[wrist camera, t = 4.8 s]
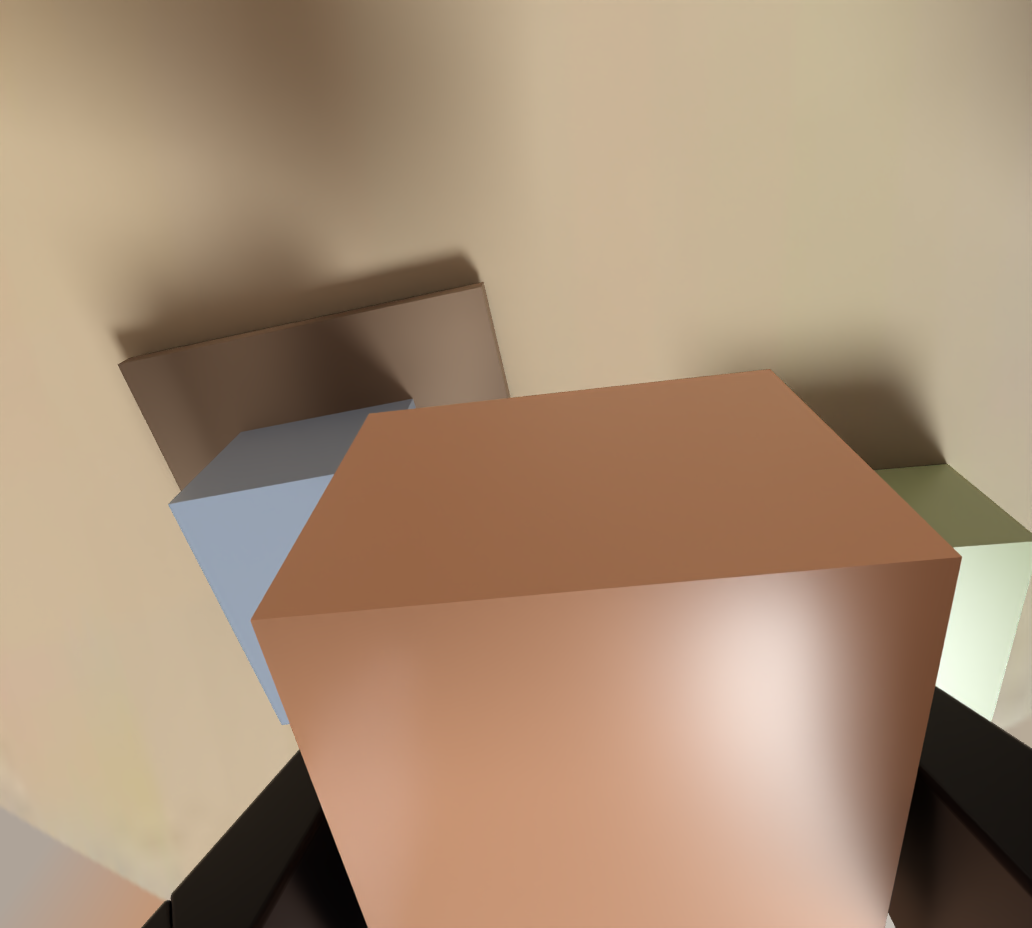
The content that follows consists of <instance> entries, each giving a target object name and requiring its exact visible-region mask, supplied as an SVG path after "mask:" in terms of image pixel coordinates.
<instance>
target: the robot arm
mask: <svg viewBox="0 0 1032 928" xmlns="http://www.w3.org/2000/svg"><path fill="white" fill-rule="evenodd" d="M888 913H889V915H890V917H891V919H892V921H893V923H894V925H895V928H1032V748H1030V747H1029V746H1027V745H1026V744H1024V743H1023V742H1021V741H1019V740H1018V739H1017V738H1015V737H1014V736H1012V735H1011V734H1009V733H1007V732H1006V731H1004V730H1003V729H1001V728H1000V727H998V726H997V725H995V724H994V723H992V722H991V721H989V720H988V719H986V718H984V717H983V716H981V715H980V714H978V713H977V712H975V711H974V710H972V709H971V708H969V707H968V706H966V705H965V704H963V703H961V702H960V701H958V700H957V699H955V698H954V697H952V696H951V695H949V694H948V693H946V692H945V691H943V690H942V689H940V688H938V687H937V686H935V690H934V694H933V699H932V704H931V709H930V714H929V718H928V723H927V728H926V733H925V738H924V742H923V747H922V752H921V757H920V761H919V766H918V771H917V776H916V781H915V785H914V790H913V795H912V800H911V805H910V809H909V814H908V819H907V824H906V828H905V833H904V838H903V843H902V848H901V852H900V857H899V862H898V867H897V872H896V876H895V881H894V886H893V891H892V895H891V900H890V905H889V910H888ZM142 928H368V926H367V924H366V921H365V919H364V916H363V913H362V911H361V908H360V906H359V903H358V900H357V898H356V895H355V892H354V890H353V887H352V885H351V882H350V879H349V877H348V874H347V872H346V869H345V866H344V864H343V861H342V859H341V856H340V853H339V851H338V848H337V846H336V843H335V840H334V838H333V835H332V832H331V830H330V827H329V825H328V822H327V819H326V817H325V814H324V812H323V809H322V806H321V804H320V801H319V799H318V796H317V793H316V791H315V788H314V786H313V783H312V780H311V778H310V775H309V773H308V770H307V767H306V765H305V762H304V759H303V757H302V754H301V752H300V749H299V750H298V751H297V753H296V754H295V755H294V756H293V757H292V758H291V759H290V760H289V762H288V763H287V764H286V765H285V766H284V767H283V768H282V769H281V771H280V772H279V773H278V774H277V775H276V776H275V777H274V779H273V780H272V781H271V782H270V783H269V784H268V785H267V786H266V788H265V789H264V790H263V791H262V792H261V793H260V794H259V796H258V797H257V798H256V799H255V800H254V801H253V802H252V803H251V805H250V806H249V807H248V808H247V809H246V810H245V811H244V812H243V814H242V815H241V816H240V817H239V818H238V819H237V820H236V822H235V823H234V824H233V825H232V826H231V827H230V828H229V829H228V831H227V832H226V833H225V834H224V835H223V836H222V837H221V838H220V840H219V841H218V842H217V843H216V844H215V845H214V846H213V848H212V849H211V850H210V851H209V852H208V853H207V854H206V855H205V857H204V858H203V859H202V860H201V861H200V862H199V863H198V864H197V866H196V867H195V868H194V869H193V870H192V871H191V872H190V874H189V875H188V876H187V877H186V878H185V879H184V880H183V881H182V883H181V884H180V885H179V886H178V887H177V888H176V889H175V891H174V892H173V893H172V895H171V901H170V900H167V901H165V902H164V903H163V904H162V905H161V906H160V907H159V908H158V909H157V911H156V912H155V913H154V914H153V915H152V916H151V917H150V919H149V920H148V921H147V922H146V923H145V924H144V925H143V927H142Z"/></svg>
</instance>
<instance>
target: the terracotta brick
mask: <svg viewBox="0 0 1032 928" xmlns="http://www.w3.org/2000/svg"><path fill="white" fill-rule="evenodd" d="M961 560H962V556H961V555H960V554H959V553H958V552H957V551H956V550H955V549H954V548H953V547H952V546H951V545H950V544H949V543H948V542H947V541H945V540H944V539H943V538H942V537H941V536H940V535H939V534H938V533H937V532H936V531H935V530H934V529H933V528H932V527H931V526H930V525H929V524H928V523H927V522H926V521H925V520H924V519H923V518H922V517H921V516H920V515H919V514H918V513H917V512H916V511H915V510H914V509H913V508H912V507H911V506H910V505H909V504H908V503H907V502H906V501H905V500H904V499H902V498H901V497H900V496H899V495H898V494H897V493H896V492H895V491H894V490H893V489H892V488H891V487H890V486H889V485H888V484H887V483H886V482H885V481H884V480H883V479H882V478H881V477H880V476H879V475H878V474H877V473H876V472H875V471H874V470H873V469H872V468H871V467H870V466H869V465H868V464H867V463H866V462H865V461H864V460H863V459H862V458H861V457H860V456H858V455H857V454H856V453H855V452H854V451H853V450H852V449H851V448H850V447H849V446H848V445H847V444H846V443H845V442H844V441H843V440H842V439H841V438H840V437H839V436H838V435H837V434H836V433H835V432H834V431H833V430H832V429H831V428H830V427H829V426H828V425H827V424H826V423H825V422H824V421H823V420H822V419H821V418H820V417H819V416H818V415H817V414H816V413H814V412H813V411H812V410H811V409H810V408H809V407H808V406H807V405H806V404H805V403H804V402H803V401H802V400H801V399H800V398H799V397H798V396H797V395H796V394H795V393H794V392H793V391H792V390H791V389H790V388H789V387H788V386H787V385H786V384H785V383H784V382H783V381H782V380H781V379H780V378H779V377H778V376H777V375H776V374H775V373H774V372H773V371H772V370H770V369H766V370H757V371H748V372H739V373H730V374H721V375H712V376H703V377H694V378H685V379H676V380H667V381H658V382H649V383H640V384H631V385H622V386H613V387H604V388H595V389H586V390H577V391H568V392H559V393H550V394H541V395H532V396H523V397H514V398H505V399H496V400H487V401H478V402H469V403H460V404H451V405H442V406H433V407H424V408H415V409H406V410H397V411H388V412H379V413H370V414H369V415H368V416H367V418H366V420H365V422H364V423H363V425H362V427H361V429H360V430H359V432H358V434H357V436H356V437H355V439H354V441H353V443H352V444H351V446H350V448H349V449H348V451H347V453H346V455H345V456H344V458H343V460H342V462H341V463H340V465H339V467H338V469H337V470H336V472H335V474H334V476H333V477H332V479H331V481H330V482H329V484H328V486H327V488H326V489H325V491H324V493H323V495H322V496H321V498H320V500H319V502H318V503H317V505H316V507H315V509H314V510H313V512H312V514H311V515H310V517H309V519H308V521H307V522H306V524H305V526H304V528H303V529H302V531H301V533H300V535H299V536H298V538H297V540H296V542H295V543H294V545H293V547H292V548H291V550H290V552H289V554H288V555H287V557H286V559H285V561H284V562H283V564H282V566H281V568H280V569H279V571H278V573H277V575H276V576H275V578H274V580H273V581H272V583H271V585H270V587H269V588H268V590H267V592H266V594H265V595H264V597H263V599H262V601H261V602H260V604H259V606H258V608H257V609H256V611H255V613H254V614H253V616H252V618H251V620H250V621H251V624H252V626H253V629H254V632H255V634H256V637H257V640H258V642H259V645H260V647H261V650H262V653H263V655H264V658H265V660H266V663H267V666H268V668H269V671H270V673H271V676H272V679H273V681H274V684H275V686H276V689H277V692H278V694H279V697H280V700H281V702H282V705H283V707H284V710H285V713H286V715H287V718H288V720H289V723H290V726H291V728H292V731H293V733H294V736H295V739H296V741H297V744H298V746H299V749H300V752H301V754H302V757H303V759H304V762H305V765H306V767H307V770H308V773H309V775H310V778H311V780H312V783H313V786H314V788H315V791H316V793H317V796H318V799H319V801H320V804H321V806H322V809H323V812H324V814H325V817H326V819H327V822H328V825H329V827H330V830H331V832H332V835H333V838H334V840H335V843H336V846H337V848H338V851H339V853H340V856H341V859H342V861H343V864H344V866H345V869H346V872H347V874H348V877H349V879H350V882H351V885H352V887H353V890H354V892H355V895H356V898H357V900H358V903H359V906H360V908H361V911H362V913H363V916H364V919H365V921H366V924H367V926H368V928H885V924H886V919H887V914H888V910H889V905H890V900H891V895H892V891H893V886H894V881H895V876H896V872H897V867H898V862H899V857H900V852H901V848H902V843H903V838H904V833H905V828H906V824H907V819H908V814H909V809H910V805H911V800H912V795H913V790H914V785H915V781H916V776H917V771H918V766H919V761H920V757H921V752H922V747H923V742H924V738H925V733H926V728H927V723H928V718H929V714H930V709H931V704H932V699H933V694H934V690H935V685H936V680H937V675H938V671H939V666H940V661H941V656H942V651H943V647H944V642H945V637H946V632H947V627H948V623H949V618H950V613H951V608H952V604H953V599H954V594H955V589H956V584H957V580H958V575H959V570H960V565H961Z"/></svg>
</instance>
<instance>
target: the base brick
mask: <svg viewBox="0 0 1032 928" xmlns="http://www.w3.org/2000/svg"><path fill="white" fill-rule="evenodd" d="M415 408H416V407H415V404H414V400H413V399H408V400H403V401H398V402H393V403H388V404H383V405H377V406H372V407H367V408H362V409H357V410H352V411H347V412H341V413H336V414H331V415H326V416H321V417H316V418H310V419H305V420H300V421H295V422H290V423H285V424H280V425H274V426H269V427H264V428H259V429H254V430H249V431H243V432H240V433H239V434H238V435H237V436H236V437H235V438H234V439H233V440H232V441H231V442H230V443H229V444H228V445H227V446H226V447H225V448H224V449H223V450H222V451H221V452H220V453H219V454H218V455H217V456H216V457H215V458H214V459H213V460H212V461H211V462H210V463H209V464H208V465H207V466H206V467H205V468H204V469H203V470H202V471H201V472H200V473H199V474H198V475H197V476H196V477H195V478H194V479H193V480H192V481H191V482H190V483H189V484H188V485H187V486H186V487H185V488H184V489H183V490H182V491H181V492H180V493H179V494H178V495H177V496H176V497H175V498H174V499H173V500H172V501H171V502H170V503H169V504H168V505H169V507H170V509H171V511H172V513H173V515H174V517H175V519H176V520H177V522H178V524H179V526H180V528H181V530H182V532H183V534H184V536H185V538H186V540H187V542H188V544H189V546H190V548H191V550H192V552H193V553H194V555H195V557H196V559H197V561H198V563H199V565H200V567H201V569H202V571H203V573H204V575H205V577H206V579H207V581H208V583H209V585H210V586H211V588H212V590H213V592H214V594H215V596H216V598H217V600H218V602H219V604H220V606H221V608H222V610H223V612H224V614H225V616H226V618H227V619H228V621H229V623H230V625H231V627H232V629H233V631H234V633H235V635H236V637H237V639H238V641H239V643H240V645H241V647H242V649H243V651H244V652H245V654H246V656H247V658H248V660H249V662H250V664H251V666H252V668H253V670H254V672H255V674H256V676H257V678H258V680H259V682H260V684H261V685H262V687H263V689H264V691H265V693H266V695H267V697H268V699H269V701H270V703H271V705H272V707H273V709H274V711H275V713H276V715H277V717H278V718H279V720H280V722H281V724H282V725H285V724H290V723H289V720H288V718H287V715H286V713H285V710H284V707H283V705H282V702H281V700H280V697H279V694H278V692H277V689H276V686H275V684H274V681H273V679H272V676H271V673H270V671H269V668H268V666H267V663H266V660H265V658H264V655H263V653H262V650H261V647H260V645H259V642H258V640H257V637H256V634H255V632H254V629H253V626H252V624H251V621H250V620H251V618H252V616H253V614H254V613H255V611H256V609H257V608H258V606H259V604H260V602H261V601H262V599H263V597H264V595H265V594H266V592H267V590H268V588H269V587H270V585H271V583H272V581H273V580H274V578H275V576H276V575H277V573H278V571H279V569H280V568H281V566H282V564H283V562H284V561H285V559H286V557H287V555H288V554H289V552H290V550H291V548H292V547H293V545H294V543H295V542H296V540H297V538H298V536H299V535H300V533H301V531H302V529H303V528H304V526H305V524H306V522H307V521H308V519H309V517H310V515H311V514H312V512H313V510H314V509H315V507H316V505H317V503H318V502H319V500H320V498H321V496H322V495H323V493H324V491H325V489H326V488H327V486H328V484H329V482H330V481H331V479H332V477H333V476H334V474H335V472H336V470H337V469H338V467H339V465H340V463H341V462H342V460H343V458H344V456H345V455H346V453H347V451H348V449H349V448H350V446H351V444H352V443H353V441H354V439H355V437H356V436H357V434H358V432H359V430H360V429H361V427H362V425H363V423H364V422H365V420H366V418H367V416H368V415H369V414H370V413H379V412H388V411H397V410H406V409H415Z"/></svg>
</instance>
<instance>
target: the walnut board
mask: <svg viewBox="0 0 1032 928" xmlns="http://www.w3.org/2000/svg"><path fill="white" fill-rule="evenodd" d="M118 366H119V368H120V370H121V372H122V374H123V376H124V378H125V380H126V382H127V384H128V386H129V388H130V390H131V392H132V394H133V396H134V398H135V400H136V402H137V404H138V406H139V408H140V410H141V412H142V414H143V416H144V418H145V420H146V422H147V424H148V426H149V428H150V430H151V432H152V434H153V436H154V438H155V440H156V442H157V444H158V446H159V448H160V450H161V452H162V454H163V456H164V458H165V460H166V462H167V464H168V466H169V468H170V470H171V472H172V474H173V476H174V478H175V480H176V482H177V484H178V486H179V488H180V490H181V491H182V490H183V489H184V488H185V487H186V486H187V485H188V484H189V483H190V482H191V481H192V480H193V479H194V478H195V477H196V476H197V475H198V474H199V473H200V472H201V471H202V470H203V469H204V468H205V467H206V466H207V465H208V464H209V463H210V462H211V461H212V460H213V459H214V458H215V457H216V456H217V455H218V454H219V453H220V452H221V451H222V450H223V449H224V448H225V447H226V446H227V445H228V444H229V443H230V442H231V441H232V440H233V439H234V438H235V437H236V436H237V435H238V434H239V433H240V432H243V431H249V430H254V429H259V428H264V427H269V426H274V425H280V424H285V423H290V422H295V421H300V420H305V419H310V418H316V417H321V416H326V415H331V414H336V413H341V412H347V411H352V410H357V409H362V408H367V407H372V406H377V405H383V404H388V403H393V402H398V401H403V400H408V399H413V400H414V404H415V407H416V408H424V407H433V406H442V405H451V404H460V403H469V402H478V401H487V400H496V399H505V398H510V394H509V389H508V385H507V381H506V376H505V372H504V368H503V364H502V359H501V355H500V351H499V347H498V342H497V338H496V334H495V329H494V325H493V321H492V317H491V312H490V308H489V304H488V300H487V295H486V291H485V287H484V282H481V283H477V284H472V285H467V286H463V287H458V288H453V289H449V290H444V291H439V292H435V293H430V294H425V295H421V296H416V297H411V298H407V299H402V300H397V301H393V302H388V303H383V304H379V305H374V306H369V307H365V308H360V309H355V310H351V311H346V312H341V313H337V314H332V315H327V316H323V317H318V318H313V319H309V320H304V321H299V322H295V323H290V324H285V325H281V326H276V327H271V328H267V329H262V330H257V331H253V332H248V333H243V334H239V335H234V336H229V337H225V338H220V339H215V340H211V341H206V342H201V343H197V344H192V345H187V346H183V347H178V348H173V349H169V350H164V351H159V352H155V353H150V354H145V355H141V356H136V357H131V358H129V359H127V360H125V361H123V362H122V363H120V364H118Z"/></svg>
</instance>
